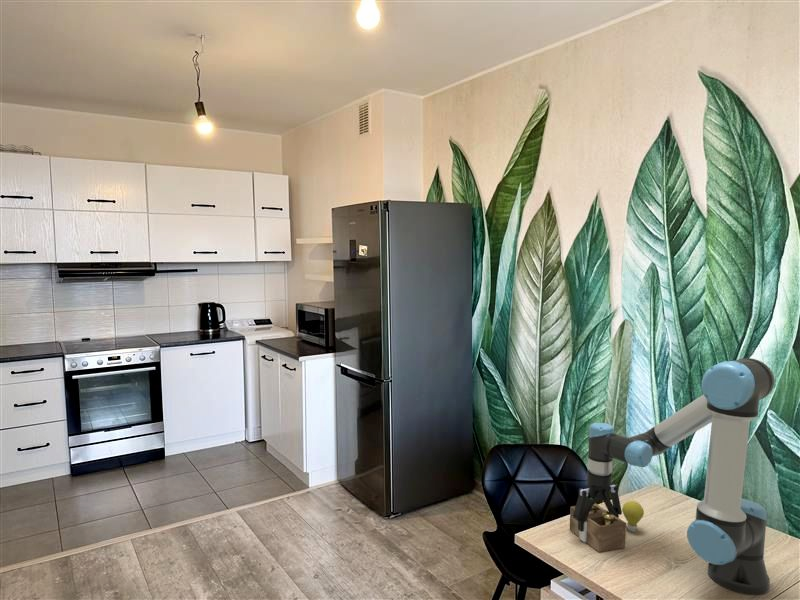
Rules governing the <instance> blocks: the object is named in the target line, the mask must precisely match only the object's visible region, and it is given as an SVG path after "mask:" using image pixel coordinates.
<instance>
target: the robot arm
mask: <svg viewBox="0 0 800 600" xmlns="http://www.w3.org/2000/svg"><path fill="white" fill-rule="evenodd" d="M774 375H775V374H774V373H773V371H772V370H771V368H770V367H769V365H767V364H766V363H764V362H763V361H761V360H758V359H757V358H750V357H749V358H748V357H744V358H739V359H734V360H731V361H730V360H724V361H722V362H719V363H717V364H715V365H713V366H711V367H709V369H707V370H706V371H705V373H704V375H703V377H702V378H701V391H702V395H700V396H699V397H697V398H695V399H694V400H692V402H690V403H688V404H687V405H685V406H684V407H682V408H681V409H679V410H677V411H676V412H675V413H673V414H671V415H669V416H668V417H667V418H665V419H664V420H662V421H661V422H659V423H657V424H656V425H655V426H652V427H651V428H650V429H649V430H647V431H645V432H642V433H639V434H637V435H636V434H635V435H633V436H629V437H628V436H624V435H619V434H616V433H615V429H614V428H615V427H614V426H613V425H611V424H609V423H607V422H594V423H591V424H590V426H589V430H588V431H589V432H588V436H587V437H588V449H587V450H588V452H587V453H588V454H587V471H586V482H587V487H586V488H584V489H583V488H578V497H577V500H576V503H575V506H576V507H575V510H574V514H573V518H574V519H576V520H577V521H578V530H579V537H578V539H579V540H581V541H582V542H583V543H586V538H587V522H586V521H585V520H586V518H587V516H588V514H589V512H590V510H591V508H592V506H593V505H594V504H595V503H596V504H597V502H599V501H602V502H603V503H604V505H605V507H606V510H607V511H608V512H610V513H612V514H613V515H615V516H616V517H618V518H619V517H620V516H622V514H623V512H622V507H621V500H620V496H619V487H618V486H617V485H615V484H614V483H613V482H612V481H613V475H612V472H613V459H615V460H617V461H619V462H623V463H626V464H628V465H630V466H633V467H634V466H635V467H639V468H646V467H647V466H649V464H651V461H652V458H653V457H655V456H660V455H662V454H664V453H666V452H668V451H669V449H670V448H672V447H673V446H675V445H676V444H678V443H679V442H681V441H683V440H685V439H686V438H688V437H689V436H691V435H693V434H695V433H696V432H698V431H700V430H701V429H703V428H704V427H706V426H708V425H710V424H711V425H710V435H709V444H708V445H709V446H708V454H707V455H708V457H707V463H706V465H707V466H706V473H705V475H706V477H705V484H704V486H705V487H704V494H703V495H704V496H703V499H702V500H700V501H698V502H697V504H696V510H695V511H696V513H695V520H694V521H692V522H690V524H689V526H688V527H687V530H686V538H687V541H688V544H689V546H690V548H691V549H692V550H693V551H694V553H695V554H696V555H697V556H698V557H699V558H700V559H702V560H703V561H705V562H707V575H708V576H709V578H710V579H712V581H714V582H715V583H717V584H718V585H720V586H721V587H724V588H726V589H729V590H731V591H733V592H736V593H737V592H738V593H741V594H745V595H762V594H763V595H764V594H766V593H768V591H769V590H770V583H771V582H770V577H769V575H768V572H767V567H766V564H765V560H764V555H765V542H766V528H767V520H768V518H767V511H766V509H765V508H764V506H762V505H760V504H759V503H757V502H755V501H752V500H750V499H747V498H744V497H743V491H744V490H743V489H744V482H745V481H744V478H745V471H746V470H745V469H746V461H747V459H746V458H747V452H748V441H749V434H750V424H751V423H750V422H751V421H753V420H755V419H757V418H758V415H759V405H760V400H763V399H765V398H766V397H768V396H769V395H770V394H771V393H772V392H773V390H774V388H775V376H774ZM609 493H610V494H609ZM619 519H620V518H619Z"/></svg>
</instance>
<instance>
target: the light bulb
mask: <svg viewBox="0 0 800 600" xmlns="http://www.w3.org/2000/svg"><path fill="white" fill-rule="evenodd" d="M621 510H622V514H623V516H624V519H625V520H626V521H627V522H626V528H627V530H628V531H629V532H631V533H635V532H636V531H637V529H638V523H639V522H640V521H641V520H642V518H643V517H644V514H645V512H644V507H643V506H642V505H641V503H639V502H637V501H635V500H628V501H626V502H625V503H624V504H623V506H622V507H621Z"/></svg>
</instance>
